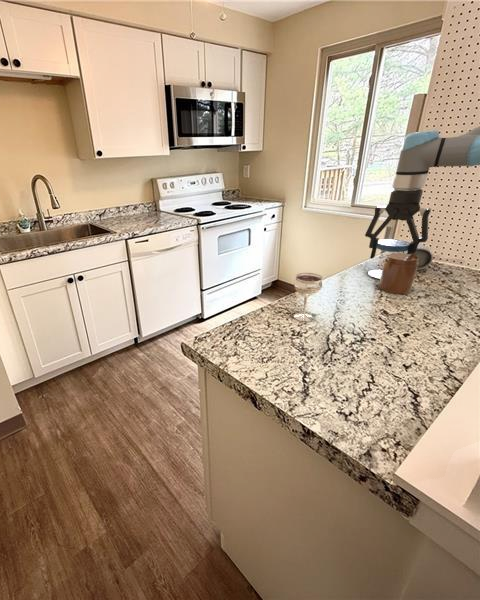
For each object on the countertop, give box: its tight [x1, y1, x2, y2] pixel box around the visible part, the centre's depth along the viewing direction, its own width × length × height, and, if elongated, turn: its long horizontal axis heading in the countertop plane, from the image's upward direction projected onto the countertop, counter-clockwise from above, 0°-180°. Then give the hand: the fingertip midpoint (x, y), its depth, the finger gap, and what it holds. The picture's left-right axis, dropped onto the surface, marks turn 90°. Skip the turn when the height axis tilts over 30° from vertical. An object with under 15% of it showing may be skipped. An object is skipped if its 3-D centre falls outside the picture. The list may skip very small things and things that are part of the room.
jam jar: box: [377, 252, 419, 295], centre depth 94 cm, size 8×8×10 cm
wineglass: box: [293, 272, 324, 322], centre depth 84 cm, size 7×7×12 cm
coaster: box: [367, 269, 383, 281], centre depth 106 cm, size 10×10×1 cm
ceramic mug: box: [404, 244, 434, 271], centre depth 110 cm, size 11×8×8 cm
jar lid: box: [376, 238, 411, 253], centre depth 102 cm, size 9×9×2 cm
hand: (389, 259), depth 104 cm, fingers closed on jar lid, 9 cm apart
